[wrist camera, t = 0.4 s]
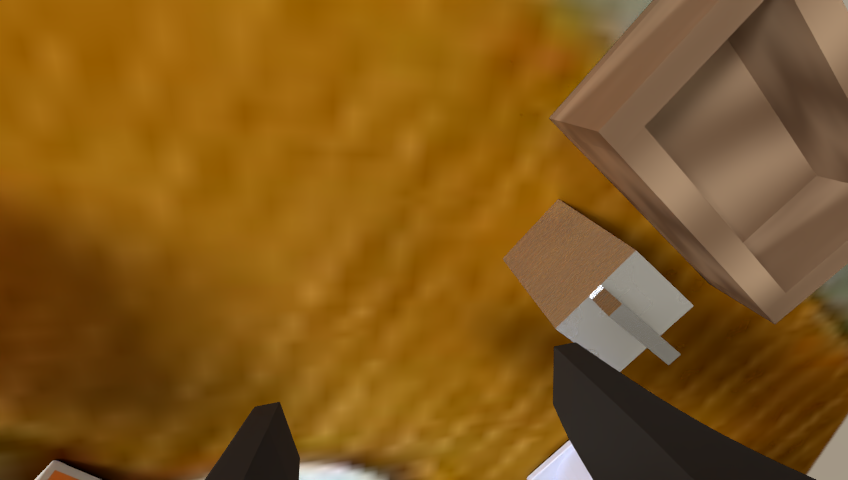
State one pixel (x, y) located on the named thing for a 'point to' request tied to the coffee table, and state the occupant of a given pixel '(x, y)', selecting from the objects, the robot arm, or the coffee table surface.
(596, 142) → the well block
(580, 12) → the coffee table surface
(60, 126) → the coffee table surface
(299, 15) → the coffee table surface
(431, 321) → the coffee table surface
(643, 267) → the bracket
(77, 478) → the skincare box
